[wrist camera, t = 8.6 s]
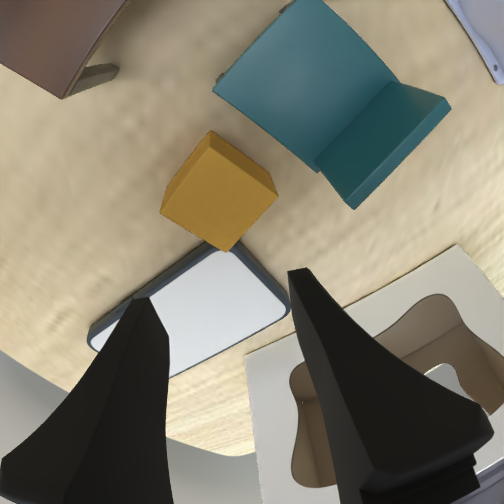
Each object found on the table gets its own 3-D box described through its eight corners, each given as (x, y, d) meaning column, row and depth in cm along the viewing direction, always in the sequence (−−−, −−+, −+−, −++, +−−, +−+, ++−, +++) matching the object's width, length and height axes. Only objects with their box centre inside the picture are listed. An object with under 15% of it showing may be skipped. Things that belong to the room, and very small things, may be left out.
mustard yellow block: (269, 173, 19) (279, 196, 16) (224, 224, 21) (226, 253, 18) (210, 130, 17) (209, 146, 14) (166, 187, 19) (158, 213, 16)
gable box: (299, 402, 36) (342, 612, 13) (240, 355, 29) (281, 655, 6) (464, 319, 31) (559, 519, 8) (459, 240, 24) (616, 519, 1)
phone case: (224, 222, 21) (83, 328, 25) (225, 235, 20) (79, 342, 24) (294, 297, 25) (155, 374, 30) (299, 312, 24) (154, 388, 28)
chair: (363, 74, 16) (457, 104, 9) (295, 145, 18) (348, 217, 11) (285, 2, 13) (345, -32, 6) (212, 81, 15) (210, 106, 8)
